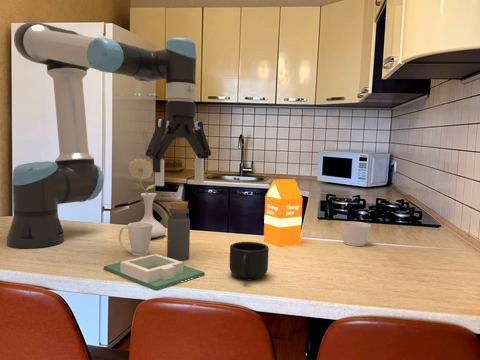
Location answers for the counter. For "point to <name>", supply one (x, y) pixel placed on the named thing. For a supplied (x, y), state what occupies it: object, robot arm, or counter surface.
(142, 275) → the board
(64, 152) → the robot arm
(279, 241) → the orange juice
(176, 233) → the bottle
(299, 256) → the counter surface
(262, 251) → the mug
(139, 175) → the flower in vase
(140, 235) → the cup
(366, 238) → the candle
